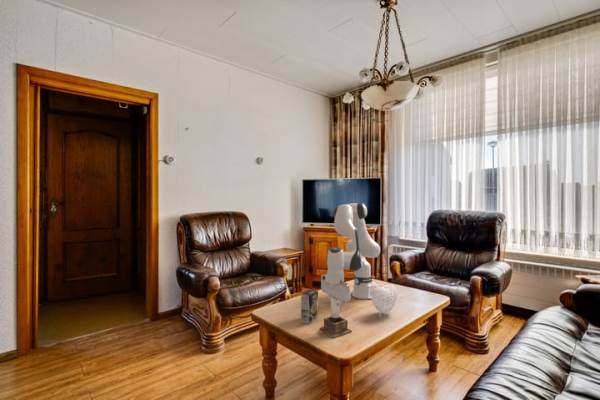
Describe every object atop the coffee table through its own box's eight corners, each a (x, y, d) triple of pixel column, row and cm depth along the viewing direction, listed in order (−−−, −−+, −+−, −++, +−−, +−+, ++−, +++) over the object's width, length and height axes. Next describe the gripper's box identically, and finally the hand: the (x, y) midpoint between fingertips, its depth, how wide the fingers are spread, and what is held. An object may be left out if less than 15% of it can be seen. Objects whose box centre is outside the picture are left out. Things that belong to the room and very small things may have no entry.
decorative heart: (380, 321, 168) (380, 291, 167) (367, 314, 177) (367, 286, 176) (401, 314, 177) (401, 285, 177) (387, 308, 186) (388, 281, 186)
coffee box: (310, 324, 163) (310, 295, 163) (300, 321, 167) (300, 293, 166) (318, 318, 171) (318, 290, 171) (308, 316, 175) (308, 288, 174)
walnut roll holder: (336, 323, 164) (336, 312, 164) (351, 332, 154) (351, 320, 154) (319, 329, 158) (319, 318, 158) (334, 338, 148) (334, 326, 148)
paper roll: (335, 313, 159) (335, 295, 159) (341, 316, 155) (341, 297, 155) (329, 315, 156) (329, 296, 156) (334, 318, 153) (334, 299, 153)
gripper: (353, 282, 148) (353, 310, 149) (328, 273, 166) (328, 297, 166) (344, 285, 145) (344, 312, 145) (319, 275, 162) (319, 300, 162)
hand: (335, 304), depth 156 cm, fingers closed on paper roll, 4 cm apart
